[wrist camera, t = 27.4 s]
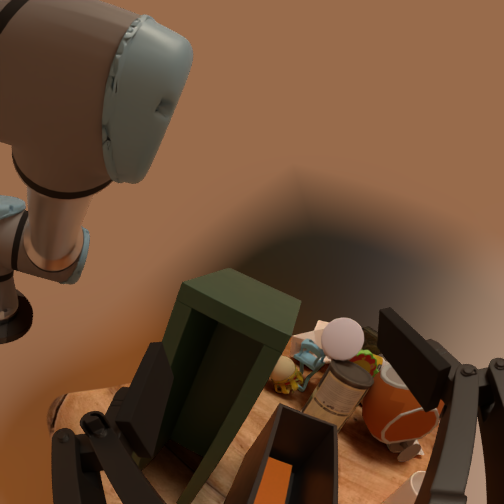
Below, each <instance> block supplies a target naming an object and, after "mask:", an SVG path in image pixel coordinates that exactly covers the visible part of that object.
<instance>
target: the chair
mask: <svg viewBox="0 0 504 504" xmlns="http://www.w3.org/2000/svg"><path fill="white" fill-rule="evenodd" d="M313 342H314V341H312V340H311V339H305V340H304V341H303V342H302V343H301V349H300V352H299V353H297V354H294V356H293V357H294V358H295V359H297V360H298V361H300V371H299V372H301V373H302V374H303V372H304V364H305V365H306V366H307V367H309V368H310V369H311V370H313V372H312V373H310V374H309V375H308V376H307V377H306V379H305V381H304V384H303V387H301V386H300V385H298V387H299V388H298V390H299V391H301V392H304V390H305V389H306V387H307V384H308V381H309V380H310V378H311V377H312V376H313V375H314V374H315V373H316V372H317V371H318V370H319V369H320V368H321V367H322V366H323V365H324V364H325V362H323V361H324V358H325V357H326V355H325V354H324V352H323V349H320V348H319V347H318V346H317V345H316V344H314V343H313ZM303 348H305V349H307V350H305V351H303ZM309 351H311V352H313V353H314V354H315V355H316V356H317V358H316V357H315V356H313V355H312V354H311V353H309ZM320 358H321V360H320Z"/></svg>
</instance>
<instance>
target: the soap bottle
mask: <svg viewBox="0 0 504 504" xmlns="http://www.w3.org/2000/svg"><path fill="white" fill-rule="evenodd" d="M363 343H364V333H363V330H362V328H361V326H360V325H359V324H358V323H357V322H356V321H353V320H352V319H350V318H338V319H335V320H333V321H331V322H330V323H328V324H327V326H326V327H325V328H324V330H323V333H322V336H321V345H322V349H323V352H324V354H325V355H326V356H327V358H328V359H330V360H332V359H334V360H341V361H347V360H350V359H352V358H353V357H354V356H356V355H357V354H358V353H359V351H360V350H361V349H362V346H363Z"/></svg>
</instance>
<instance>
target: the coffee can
mask: <svg viewBox="0 0 504 504" xmlns="http://www.w3.org/2000/svg"><path fill="white" fill-rule="evenodd" d="M373 383H374V379H373V377H372V376H371V374H370V373H369V372H368V371H366V370H365V369H364V368H362V367H361V366H359V365H357V364H355V363H353V362H351V361H348V360H347V361H341V360H334V359H332V360H331V362H330V364H329V367H328V368H327V370H326V372H325V373H324V375H323V377H322V378H321V380H320V382H319V383H318V385H317V387H316V388H315V390H314V391H313V393H312V395H311V396H310V398H309V399H308V401H307V402H306V404H305V405H304V407H303V408H302V409H301V411H300V412H303V413H305V414H308V415H310V416H313V417H316V418H318V419H321V420H324V421H326V422H329V423H332V424H335V425H337V433H338V432H339V431H340V429H341V428H342V427H343V425H344V424H345V423H346V421H347V420H348V419H349V417H350V416H351V414H352V413H353V412H354V410H355V409H356V407H357V406H358V405H359V403H360V402H361V400H362V399H363V397H364V396H365V394H366V393H367V391H368V390H369V388H370V387H371V386H372V385H373Z"/></svg>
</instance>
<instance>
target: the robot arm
mask: <svg viewBox="0 0 504 504" xmlns="http://www.w3.org/2000/svg"><path fill="white" fill-rule="evenodd" d="M192 61H193V50H192V47H191V44H190V43H189V42H188V40H187V39H185V37H183V36H181V35H179V34H178V33H176V32H174V31H172V30H170V29H168V28H166V27H165V26H162V25H161V24H159V23H157V22H155V20H154V19H153V18H152V17H151V16H148V15H138V14H136V13H133V12H131V11H128V10H125V9H122V8H119V7H117V6H114V5H111V4H108V3H105V2H102V1H99V0H0V142H3V143H6V144H9V145H12V158H13V164H14V167H15V170H16V172H17V174H18V176H19V177H20V179H21V180H22V181H23V182H24V184H25V185H26V186H27V200H28V211H26V210H25V208H26V206H25V202H24V201H23V200H21V199H19V198H16V197H11V196H2V195H0V325H3V324H6V323H8V322H10V321H12V320H13V319H14V318H15V317H16V315H17V313H18V297H17V293H16V289H15V284H14V279H13V272H14V270H16V271H20V272H23V273H27V274H30V275H34V276H37V277H41V278H45V279H48V280H52V281H56V282H59V283H60V284H75V283H76V282H77V281H78V280H79V278H80V276H81V272H82V270H83V268H84V265H85V262H86V258H87V253H88V248H89V241H90V235H89V231H88V230H87V229H85V228H83V227H82V226H81V225H82V222H83V220H84V217H85V214H86V212H87V209H88V207H89V204H90V202H91V199H92V197H93V195H94V194H97V193H99V192H101V191H102V190H103V189H105V188H106V187H108V186H109V185H110V184H111V183H112V182H113V181H115V182H118V183H123V182H127V183H131V184H136V183H139V182H140V181H142V180H143V179H144V177H145V176H146V174H147V172H148V170H149V168H150V166H151V164H152V162H153V160H154V158H155V155H156V153H157V151H158V148H159V146H160V144H161V141H162V139H163V137H164V134H165V132H166V129H167V127H168V125H169V122H170V120H171V117H172V115H173V113H174V110H175V108H176V105H177V103H178V100H179V98H180V95H181V92H182V90H183V88H184V85H185V83H186V80H187V78H188V75H189V72H190V68H191V66H192ZM377 348H378V349H379V350H380V352H381V353H382V354H383V356H384V357H385V358H386V360H387V361H388V362H389V364H390V365H391V366H392V368H393V369H394V370H395V372H396V373H397V374H398V376H399V377H400V378H401V380H402V381H403V382H404V384H405V385H406V386H407V388H408V389H409V390H410V392H411V393H412V394H413V396H414V397H415V399H416V400H417V401H418V403H419V404H420V405H421V407H422V408H423V410H424V411H425V412H429V411H431V410H433V409H435V408H437V407H438V405H439V402H440V400H442V401H443V402H444V406H443V408H442V411H441V413H440V416H439V418H441V419H440V423H439V427H438V432H437V436H436V440H435V443H434V447H433V451H432V454H431V457H430V461H429V464H428V467H427V470H426V473H425V476H424V479H423V482H422V485H421V487H420V490H419V493H418V495H417V498H416V500H415V503H414V504H466V502H467V496H465V495H464V492H465V488H466V484H467V479H468V475H469V470H470V465H471V460H472V454H473V448H474V440H475V433H476V424H477V417H478V422H479V427H480V433H481V439H482V446H483V454H484V463H485V473H486V491H487V504H504V359H502V358H495V359H492V360H491V361H490V364H489V367H488V368H483V369H477V368H476V367H475V366H473V365H470V364H463V365H462V364H461V363H460V362H458V361H457V360H456V359H455V358H454V357H453V356H452V355H451V354H450V353H449V352H448V351H447V350H446V349H445V348H443V346H442V345H440V344H439V343H438V342H436V341H434V340H432V339H429V340H425V339H424V338H423V337H422V336H420V334H418V333H417V332H416V331H415V330H414V329H413V328H412V327H411V326H410V325H409V324H408V323H407V322H406V321H404V320H403V319H402V318H401V317H400V316H399V315H398V314H397V313H396V312H395V311H394V310H393V309H392V308H390V307H389V308H385V309H381V310H380V311H379V326H378V338H377ZM173 379H174V376H173V373H172V370H171V367H170V364H169V361H168V358H167V355H166V352H165V349H164V346H163V343H162V342H153V343H150V345H149V347H148V349H147V351H146V353H145V355H144V357H143V359H142V361H141V363H140V365H139V368H138V370H137V372H136V374H135V376H134V378H133V380H132V383H131V385H130V387H122V388H121V389H120V390H118V391H117V392H116V394H115V396H114V398H113V401H112V402H111V404H110V406H109V408H108V410H107V412H106V414H105V415H104V414H103V413H101V412H99V411H92V412H88V413H87V414H85V415H84V416H83V417H82V418H81V420H80V426H81V428H82V429H83V431H84V432H85V434H79V435H75V434H74V432H73V431H72V430H71V429H68V428H62V429H60V430H58V431H56V432H55V433H54V435H53V437H52V489H53V502H54V504H107V503H106V499H105V495H104V490H103V485H102V480H101V475H100V471H105V473H106V475H107V477H108V479H109V481H110V482H111V484H112V486H113V488H114V489H115V491H116V493H117V494H118V496H119V498H120V499H121V501H122V503H123V504H166V503H165V501H164V500H163V499H162V498H161V496H160V495H159V494H158V493H157V491H156V490H155V489H154V488H153V486H152V485H151V484H150V482H149V481H148V479H147V478H146V477H145V475H144V474H143V473H142V471H141V470H140V468H139V467H138V465H137V464H136V462H135V461H134V459H133V458H132V454H133V451H134V452H135V454H136V455H137V456H138V457H140V458H153V454H154V450H155V446H156V442H157V439H158V435H159V431H160V427H161V423H162V419H163V416H164V412H165V408H166V405H167V401H168V397H169V394H170V390H171V387H172V383H173Z"/></svg>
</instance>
